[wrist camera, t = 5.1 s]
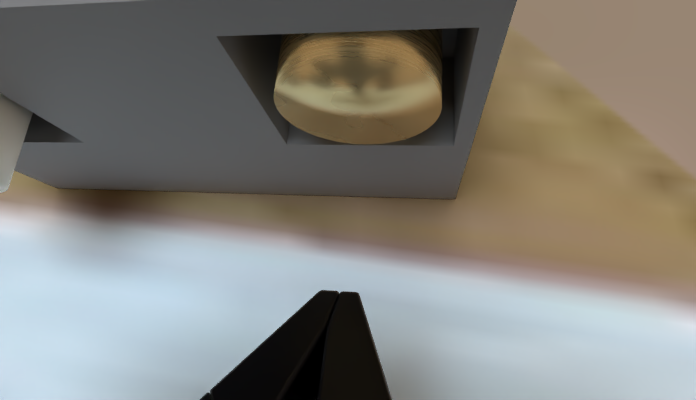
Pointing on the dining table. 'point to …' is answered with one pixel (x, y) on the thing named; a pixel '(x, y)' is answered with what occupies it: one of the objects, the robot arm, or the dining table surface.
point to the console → (226, 95)
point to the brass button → (361, 84)
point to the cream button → (11, 137)
